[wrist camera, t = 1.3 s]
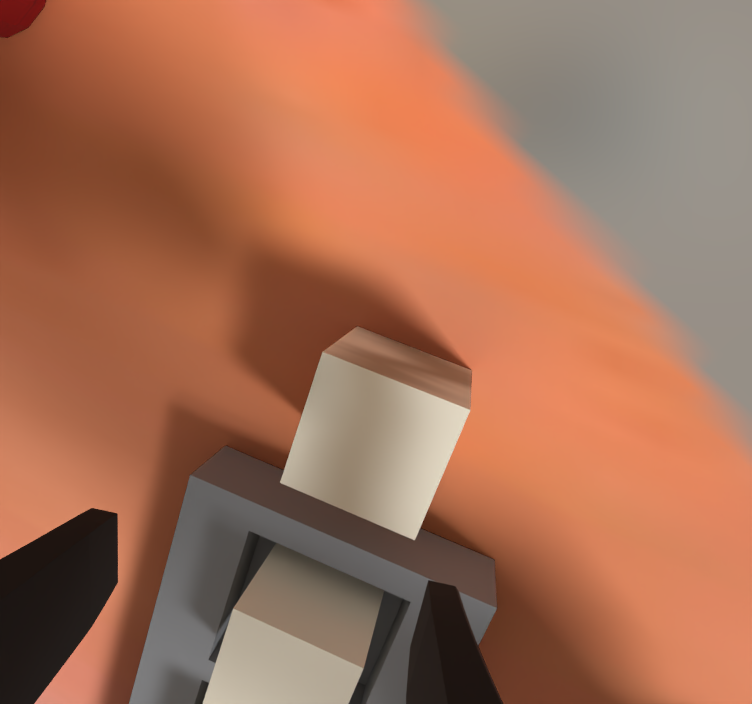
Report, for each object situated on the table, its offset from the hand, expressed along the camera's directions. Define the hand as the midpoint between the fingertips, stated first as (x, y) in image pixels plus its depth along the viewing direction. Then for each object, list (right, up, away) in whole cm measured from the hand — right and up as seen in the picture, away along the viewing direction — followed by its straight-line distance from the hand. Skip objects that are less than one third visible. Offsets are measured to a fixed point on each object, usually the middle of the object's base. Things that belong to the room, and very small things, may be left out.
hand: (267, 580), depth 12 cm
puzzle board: (-3, -13, +15) cm, 20 cm away
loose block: (+3, +3, +10) cm, 11 cm away
